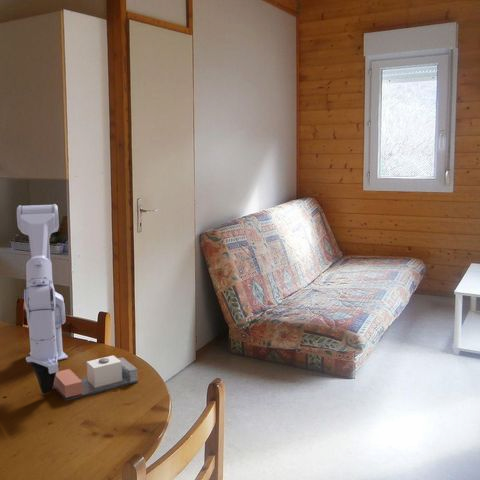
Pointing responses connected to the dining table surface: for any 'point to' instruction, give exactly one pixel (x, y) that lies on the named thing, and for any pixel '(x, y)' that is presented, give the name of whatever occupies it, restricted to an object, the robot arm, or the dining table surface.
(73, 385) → the block
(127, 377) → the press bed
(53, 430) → the dining table surface
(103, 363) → the block
